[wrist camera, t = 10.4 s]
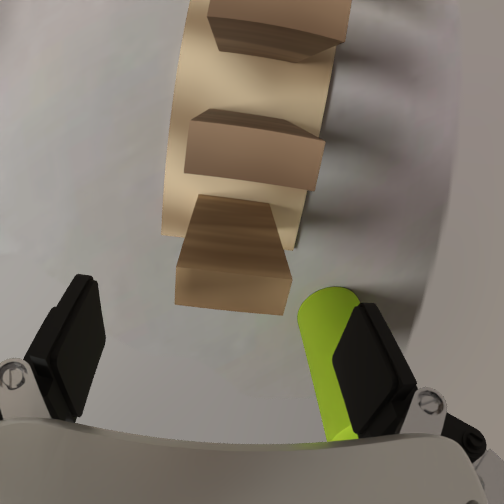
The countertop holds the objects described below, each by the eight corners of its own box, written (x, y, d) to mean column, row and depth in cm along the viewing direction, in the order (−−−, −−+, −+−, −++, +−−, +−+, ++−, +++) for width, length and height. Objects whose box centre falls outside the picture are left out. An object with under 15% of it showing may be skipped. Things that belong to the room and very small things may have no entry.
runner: (223, -114, 11) (223, -117, 10) (354, -90, 12) (356, -92, 12) (162, 232, 24) (161, 234, 24) (292, 248, 25) (293, 250, 25)
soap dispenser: (297, 349, 30) (340, 551, 13) (296, 291, 27) (360, 535, 9) (355, 339, 30) (424, 526, 13) (362, 282, 27) (468, 494, 9)
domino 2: (209, 108, 20) (189, 120, 11) (285, 119, 20) (325, 141, 11) (205, 137, 20) (183, 173, 12) (279, 148, 21) (314, 191, 12)
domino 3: (198, 194, 22) (176, 266, 13) (269, 203, 23) (292, 279, 14) (195, 220, 23) (174, 304, 14) (264, 228, 24) (282, 315, 15)
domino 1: (224, 24, 17) (216, -30, 8) (300, 36, 17) (352, -3, 9) (218, 51, 18) (206, 16, 9) (295, 63, 18) (344, 42, 10)
